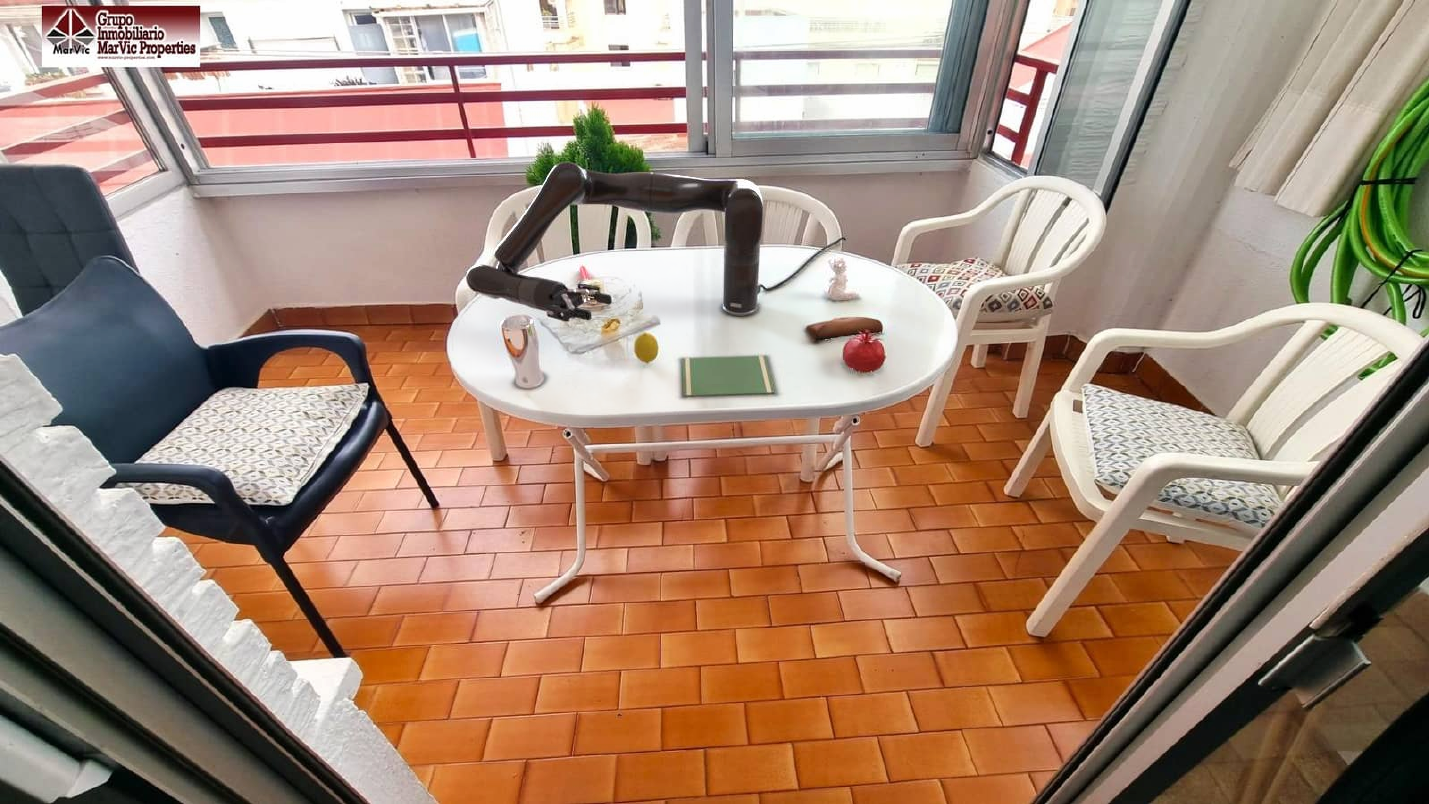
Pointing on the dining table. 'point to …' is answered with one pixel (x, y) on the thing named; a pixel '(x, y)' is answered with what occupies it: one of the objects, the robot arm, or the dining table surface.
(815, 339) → the sunglasses case
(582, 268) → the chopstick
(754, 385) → the cloth
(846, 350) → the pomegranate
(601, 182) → the robot arm
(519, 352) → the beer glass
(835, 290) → the white creature statuette
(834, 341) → the dining table surface
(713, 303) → the dining table surface
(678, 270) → the dining table surface
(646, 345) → the lemon
